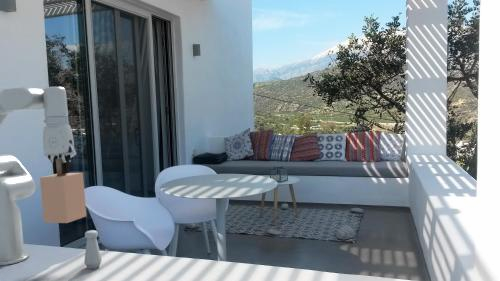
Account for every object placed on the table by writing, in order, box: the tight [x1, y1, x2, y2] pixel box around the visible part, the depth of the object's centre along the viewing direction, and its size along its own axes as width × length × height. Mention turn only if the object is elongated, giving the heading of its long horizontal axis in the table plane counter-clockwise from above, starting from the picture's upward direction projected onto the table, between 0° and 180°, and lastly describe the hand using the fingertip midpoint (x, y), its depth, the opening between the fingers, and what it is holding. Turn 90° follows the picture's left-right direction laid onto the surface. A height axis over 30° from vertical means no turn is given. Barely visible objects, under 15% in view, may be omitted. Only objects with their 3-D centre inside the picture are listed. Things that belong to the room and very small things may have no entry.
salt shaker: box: [83, 229, 103, 270], centre depth 155 cm, size 6×6×13 cm
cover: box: [39, 157, 87, 224], centre depth 157 cm, size 10×10×22 cm
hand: (61, 172), depth 156 cm, fingers closed on cover, 3 cm apart
